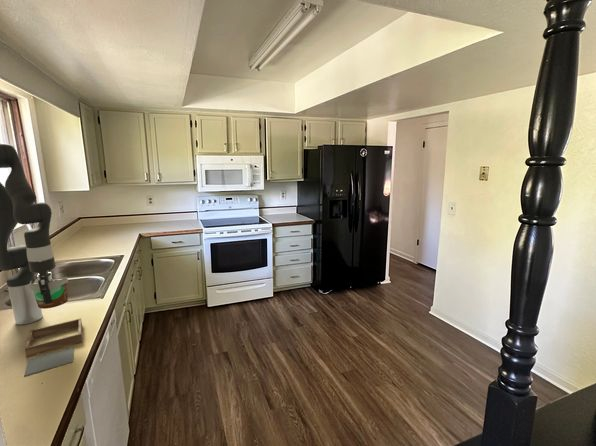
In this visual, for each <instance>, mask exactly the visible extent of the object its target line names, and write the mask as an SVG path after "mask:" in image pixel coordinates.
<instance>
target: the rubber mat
mask: <svg viewBox="0 0 596 446" xmlns="http://www.w3.org/2000/svg"><path fill="white" fill-rule="evenodd" d="M73 362H74V347H73V346H72V347H69V348H65V349H62V350H57V351H55V352H51V353H47V354H43V355H39V356H36V357H34V358H28V360H27V363H26V367H25V372H24V376H23V377H24V378H25V377H28V376H31V375H35V374H38V373H42V372H44V371H45V372H46V371H48V370H51V369H54V368H58V367H62V366H64V365H65V366H66V365H67V364H72V363H73Z"/></svg>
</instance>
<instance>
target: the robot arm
mask: <svg viewBox="0 0 596 446" xmlns="http://www.w3.org/2000/svg"><path fill="white" fill-rule="evenodd" d="M9 168H11V170H10V172H9V175H8V176H7V178H6V180H5V181H4V182H5V183H4V184H3V183H1V181H0V271H2V272H5V271H11V270H16V269H20V268H21V269H20V270H18V271H17V272H16V273H15V274H13V275H11V276H9V277H8V278H7V279H6V285H7V289H8V290H7V291H8V294H9V298H10V303H11V308H12V314H13V317H14V322H15V324H16V325H18V326H19V325H20V326H23V325H28V324H32V323H34V322H36V321H39V320H40V319H42V317H43V311H42V310H43V309H42V308H39V307H38V305H37V302H36V299H35V296H34V293H33V290H32V289H30V288H29V286H30V281H31V280H32V282H38V283H39V288H40V292H41V295H43V299H44V303H45V304H48V303H51V302H52V299H51V294H50V293H51V291H50V289H49V286H48V283H50V282H51V280H53V278H52V277H53V276H52V274H53V273H52V270H54V269H55V268H56V262H55V255H54V249H53V247H52V244H51V237H50V228H51V227H50V225H51V220H52V208H51V207H50V205H49V204H48V203H46V202H41V201H40V202H36V201H37V195H36V193H35V192H34V190H33V187H31V184H30V183H29V181H28V179H27V176H26V174H25V171H24V168H23V165H22V162H21V159H20V156H19V154H18V152H17V150H16V149H15V147H14V146H13V145H12V144H10V143H0V169H9ZM37 223H38V224H37ZM18 224H20V225H31V224H37V226H36V227H33V228H31V229H29V230H27V231H25V232H24V233H23V238H24V243H25V244H21V245H16V246H11V247H10V246H9V247H8V242H9V240H10V239H9V238H10V236H11V234H12V233H13V231H14V230H15V228H16V227H17V225H18ZM36 273H37V276H36ZM36 279H37V280H36ZM42 289H47V291H43V290H42Z"/></svg>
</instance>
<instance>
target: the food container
mask: <svg viewBox="0 0 596 446" xmlns="http://www.w3.org/2000/svg"><path fill="white" fill-rule="evenodd" d="M68 283H69V278H68V277H67V276H65V277H63V278H61V279H52V280H51V282H50V283H48V286H49V289H50V291H51V293H50V294H51V299H52V302H51V303H48V304H45V303H44V299H43V295H41V292H40V288H39V283H38V281H36V282H32V280H31V281H30V286H29V288H30V289H32V290H33V293H34V296H35V299H36V302H37V305H38V307H39V308H41V310H43V309H45V310H46V309H52V308H56V307H58V306H59V307H60V306H62V305H64V304H66V303H68V300H69V299H68ZM42 290H43V291H47V289H42Z"/></svg>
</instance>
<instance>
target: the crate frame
mask: <svg viewBox="0 0 596 446" xmlns="http://www.w3.org/2000/svg"><path fill="white" fill-rule="evenodd" d="M74 329H78V333H75V334H72V335H68V336H65V337H61V338H57V339H53V340H48V341H45V342H42V343H38V344H34V341H35V339H38V338H43V337H46V336H51V335H54V334H55V335H56V334H59V333H63V332H66V331H69V330H70V331H71V330H74ZM80 343H81V344H82V343H83V323H82V318H76V319H72V320H68V321H64V322H59V323H55V324H51V325H47V326H42V327H39V328H35V329H29V332H28V336H27V340H26V344H25V346H24V352H25V356H26V358H30V357H35V356H37V355H41V354H44V353H48V352H51V351H55V350H58V349H63V348H66V347H70V346H74V345H77V344H80Z"/></svg>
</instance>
